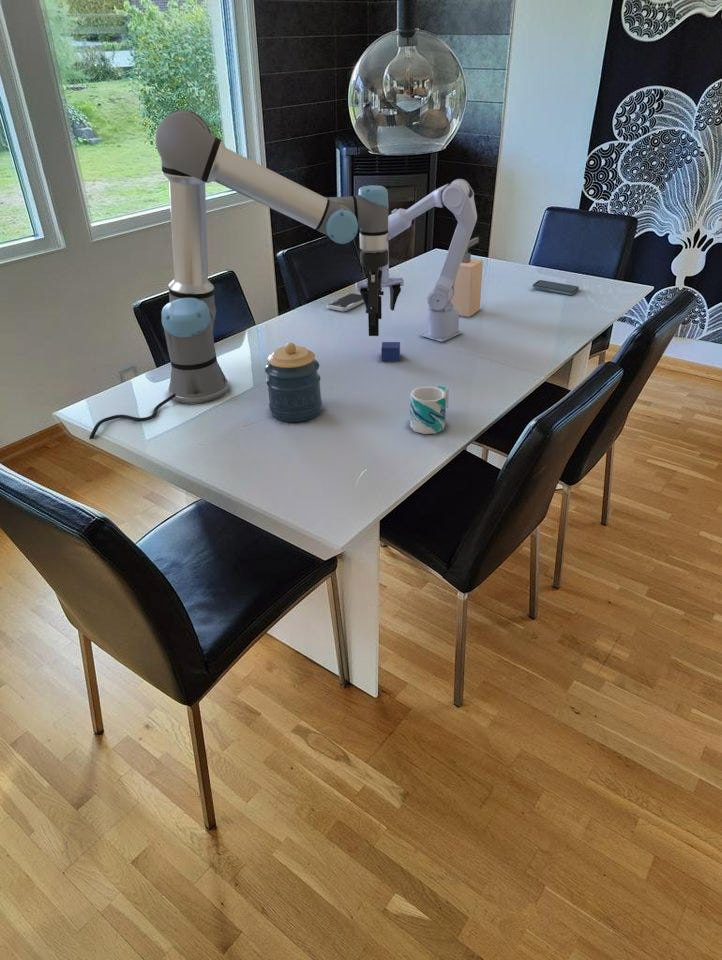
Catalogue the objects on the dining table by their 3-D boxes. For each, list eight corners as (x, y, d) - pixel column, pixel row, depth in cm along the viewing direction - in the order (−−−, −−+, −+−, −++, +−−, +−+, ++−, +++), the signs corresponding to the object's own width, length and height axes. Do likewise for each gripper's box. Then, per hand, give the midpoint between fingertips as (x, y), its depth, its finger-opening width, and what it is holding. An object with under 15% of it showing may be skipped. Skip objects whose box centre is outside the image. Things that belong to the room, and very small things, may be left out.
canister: (275, 426, 159) (266, 357, 150) (266, 403, 170) (257, 337, 160) (328, 418, 162) (323, 349, 153) (316, 396, 173) (310, 330, 163)
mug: (404, 428, 156) (404, 396, 152) (428, 408, 165) (428, 376, 160) (435, 436, 153) (436, 403, 148) (458, 415, 161) (460, 383, 156)
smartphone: (369, 296, 236) (344, 308, 226) (369, 300, 237) (344, 312, 227) (351, 293, 240) (326, 304, 230) (351, 296, 241) (326, 308, 230)
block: (399, 361, 190) (399, 347, 188) (381, 361, 191) (381, 347, 188) (400, 355, 194) (400, 341, 192) (382, 355, 194) (382, 341, 192)
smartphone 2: (573, 292, 232) (531, 284, 239) (572, 296, 233) (531, 289, 240) (579, 286, 237) (539, 279, 244) (579, 290, 238) (538, 283, 245)
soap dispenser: (469, 317, 218) (472, 247, 206) (445, 313, 222) (447, 244, 210) (485, 305, 227) (489, 238, 215) (462, 302, 231) (465, 236, 219)
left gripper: (386, 262, 167) (386, 343, 178) (390, 238, 187) (390, 312, 199) (355, 262, 167) (358, 343, 179) (363, 238, 188) (365, 312, 200)
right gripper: (358, 272, 195) (360, 317, 203) (406, 267, 198) (406, 312, 205) (353, 265, 201) (355, 310, 209) (400, 261, 204) (400, 305, 211)
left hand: (375, 327), depth 189 cm, fingers open, 13 cm apart
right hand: (380, 310), depth 207 cm, fingers open, 7 cm apart
